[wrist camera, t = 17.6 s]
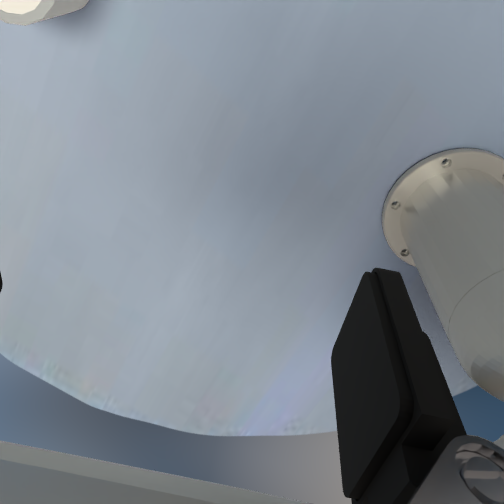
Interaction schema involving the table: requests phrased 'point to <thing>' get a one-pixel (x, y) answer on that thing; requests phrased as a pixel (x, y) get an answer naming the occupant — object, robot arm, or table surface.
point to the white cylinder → (36, 10)
